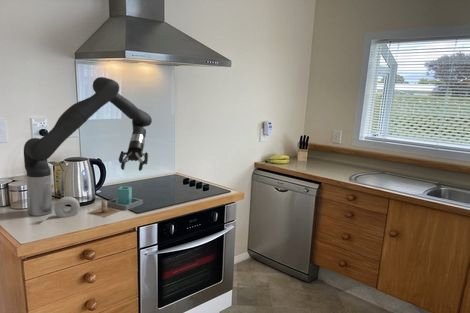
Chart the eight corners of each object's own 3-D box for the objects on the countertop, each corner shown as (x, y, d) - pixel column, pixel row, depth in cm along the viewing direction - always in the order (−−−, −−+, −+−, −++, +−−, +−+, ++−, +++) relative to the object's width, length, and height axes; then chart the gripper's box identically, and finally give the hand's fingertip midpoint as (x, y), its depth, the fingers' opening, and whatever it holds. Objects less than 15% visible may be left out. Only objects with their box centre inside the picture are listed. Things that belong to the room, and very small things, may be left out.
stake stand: (87, 216, 155) (87, 202, 154) (104, 210, 164) (104, 196, 163) (104, 220, 151) (104, 206, 150) (120, 214, 160) (120, 200, 159)
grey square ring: (106, 208, 166) (106, 201, 166) (124, 202, 177) (124, 195, 177) (125, 213, 161) (125, 206, 161) (142, 206, 172) (143, 199, 172)
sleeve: (117, 207, 167) (117, 189, 165) (120, 204, 172) (120, 186, 170) (128, 208, 167) (129, 189, 165) (131, 204, 172) (131, 186, 170)
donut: (55, 222, 146) (54, 199, 145) (54, 219, 149) (53, 196, 148) (80, 218, 152) (80, 196, 150) (79, 216, 155) (78, 194, 153)
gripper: (121, 139, 184) (115, 164, 174) (149, 140, 184) (144, 166, 175) (124, 147, 190) (118, 173, 180) (151, 149, 190) (146, 174, 181)
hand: (131, 169), depth 178 cm, fingers open, 8 cm apart
